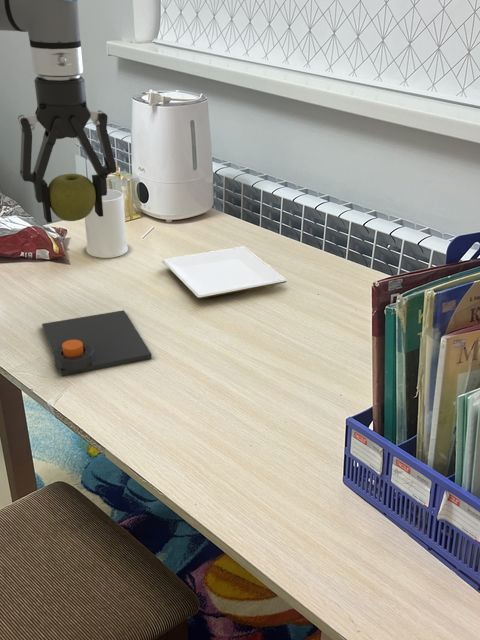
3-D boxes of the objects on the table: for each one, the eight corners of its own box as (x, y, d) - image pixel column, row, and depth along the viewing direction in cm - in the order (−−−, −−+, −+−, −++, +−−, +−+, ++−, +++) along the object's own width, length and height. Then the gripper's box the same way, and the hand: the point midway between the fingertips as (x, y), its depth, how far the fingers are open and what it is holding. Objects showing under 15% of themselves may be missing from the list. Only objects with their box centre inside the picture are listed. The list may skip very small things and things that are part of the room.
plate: (161, 268, 139) (160, 258, 138) (244, 254, 147) (244, 245, 146) (198, 306, 125) (198, 296, 124) (287, 289, 133) (288, 279, 132)
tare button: (61, 350, 106) (60, 341, 105) (81, 346, 107) (80, 338, 106) (65, 359, 104) (64, 350, 103) (85, 356, 105) (84, 347, 104)
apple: (102, 222, 117) (99, 181, 114) (54, 228, 114) (49, 186, 111) (92, 208, 123) (88, 168, 119) (46, 213, 120) (40, 173, 116)
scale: (39, 328, 116) (37, 315, 114) (124, 314, 121) (123, 301, 120) (59, 378, 103) (57, 364, 102) (152, 360, 109) (151, 346, 107)
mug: (90, 237, 152) (85, 183, 146) (129, 237, 153) (126, 183, 147) (84, 258, 142) (79, 201, 136) (127, 258, 143) (123, 201, 137)
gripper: (-9, 82, 100) (14, 232, 111) (131, 77, 108) (139, 216, 120) (-16, 74, 106) (7, 217, 117) (118, 69, 114) (126, 203, 125)
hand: (74, 216), depth 118 cm, fingers closed on apple, 8 cm apart
